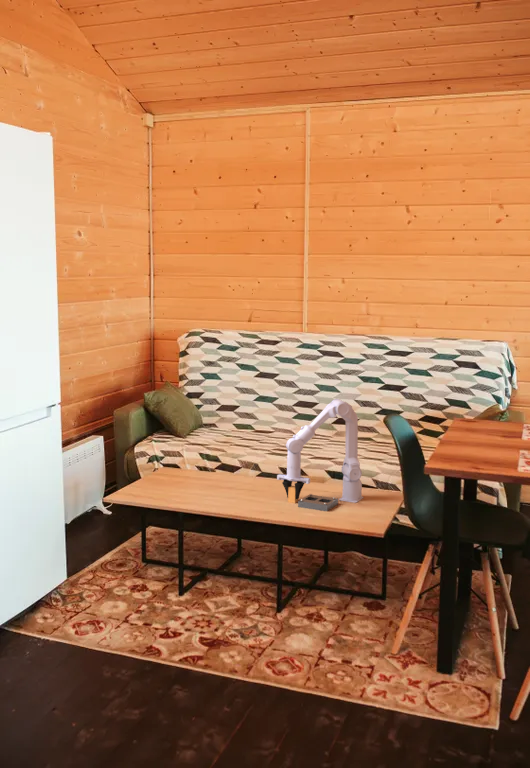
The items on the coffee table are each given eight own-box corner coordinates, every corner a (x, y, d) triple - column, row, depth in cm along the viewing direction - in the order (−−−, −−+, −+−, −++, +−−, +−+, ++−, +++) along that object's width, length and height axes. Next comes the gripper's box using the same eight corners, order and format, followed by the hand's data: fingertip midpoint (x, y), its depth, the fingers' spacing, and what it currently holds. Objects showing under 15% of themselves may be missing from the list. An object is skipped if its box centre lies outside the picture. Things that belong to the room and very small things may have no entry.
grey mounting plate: (309, 500, 331) (309, 493, 331) (337, 504, 326) (338, 497, 325) (298, 506, 321) (298, 499, 320) (327, 511, 315) (327, 504, 315)
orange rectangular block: (291, 500, 330) (291, 485, 330) (298, 501, 329) (298, 486, 328) (288, 502, 328) (288, 487, 327) (294, 503, 326) (295, 488, 325)
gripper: (274, 466, 326) (273, 497, 328) (305, 470, 320) (305, 502, 321) (281, 463, 332) (280, 494, 334) (312, 467, 326) (311, 498, 328)
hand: (293, 498), depth 328 cm, fingers closed on orange rectangular block, 3 cm apart
